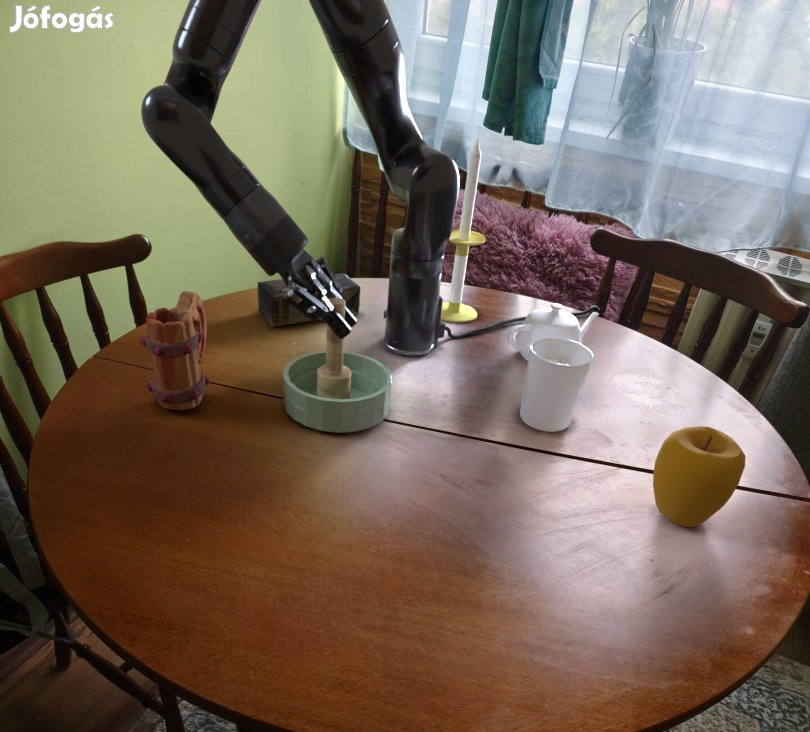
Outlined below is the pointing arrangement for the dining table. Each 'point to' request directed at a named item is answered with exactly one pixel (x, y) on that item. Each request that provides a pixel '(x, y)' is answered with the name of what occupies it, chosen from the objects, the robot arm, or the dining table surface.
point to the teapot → (547, 328)
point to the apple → (696, 474)
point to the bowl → (337, 414)
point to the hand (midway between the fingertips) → (349, 330)
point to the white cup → (554, 382)
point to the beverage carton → (285, 313)
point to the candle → (464, 246)
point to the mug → (177, 352)
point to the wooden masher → (334, 363)
